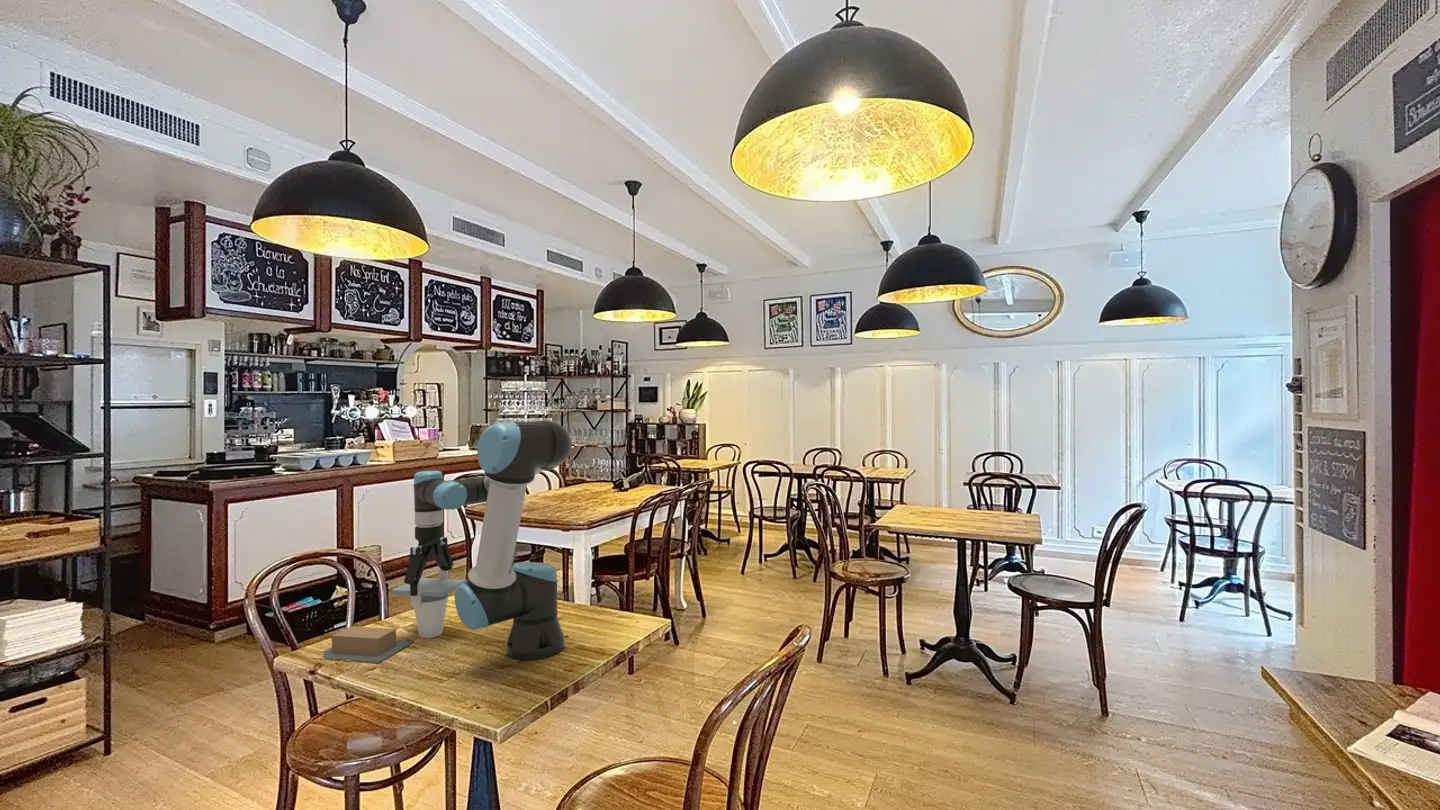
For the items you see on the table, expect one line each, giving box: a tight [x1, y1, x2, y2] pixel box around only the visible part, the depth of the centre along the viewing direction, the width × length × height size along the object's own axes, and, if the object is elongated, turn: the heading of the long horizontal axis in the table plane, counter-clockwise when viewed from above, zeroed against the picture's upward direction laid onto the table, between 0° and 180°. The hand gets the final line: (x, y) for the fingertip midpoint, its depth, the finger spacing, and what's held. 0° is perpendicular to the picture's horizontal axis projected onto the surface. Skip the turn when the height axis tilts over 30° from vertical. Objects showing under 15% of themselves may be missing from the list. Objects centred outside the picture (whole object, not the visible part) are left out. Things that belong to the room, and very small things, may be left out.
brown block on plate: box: [322, 625, 415, 664], centre depth 172 cm, size 20×14×5 cm
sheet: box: [390, 577, 467, 597], centre depth 183 cm, size 16×12×1 cm
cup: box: [413, 593, 450, 639], centre depth 183 cm, size 10×10×11 cm
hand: (430, 599), depth 183 cm, fingers closed on sheet, 12 cm apart
